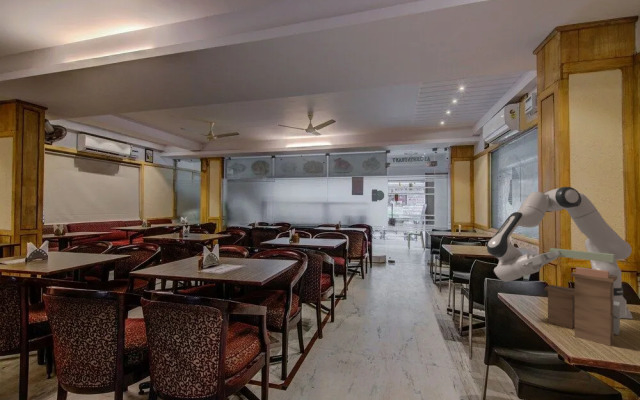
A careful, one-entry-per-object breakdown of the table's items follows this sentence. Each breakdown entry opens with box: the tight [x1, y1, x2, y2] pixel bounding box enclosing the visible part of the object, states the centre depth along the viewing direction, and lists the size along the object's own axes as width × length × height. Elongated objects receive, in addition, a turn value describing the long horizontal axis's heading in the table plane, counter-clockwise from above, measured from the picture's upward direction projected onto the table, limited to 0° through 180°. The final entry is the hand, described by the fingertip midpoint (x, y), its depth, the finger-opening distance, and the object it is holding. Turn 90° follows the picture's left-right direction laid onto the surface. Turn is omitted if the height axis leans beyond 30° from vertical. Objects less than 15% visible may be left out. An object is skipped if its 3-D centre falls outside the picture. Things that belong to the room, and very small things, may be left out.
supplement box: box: [614, 301, 621, 336], centre depth 139 cm, size 7×7×13 cm
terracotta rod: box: [575, 266, 609, 278], centre depth 129 cm, size 2×10×2 cm, turn 39°
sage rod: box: [549, 247, 615, 263], centre depth 135 cm, size 3×21×3 cm, turn 39°
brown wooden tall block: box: [570, 270, 617, 347], centre depth 130 cm, size 9×13×26 cm
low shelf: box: [544, 284, 575, 329], centre depth 147 cm, size 9×11×16 cm
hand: (560, 251), depth 140 cm, fingers closed on sage rod, 3 cm apart
